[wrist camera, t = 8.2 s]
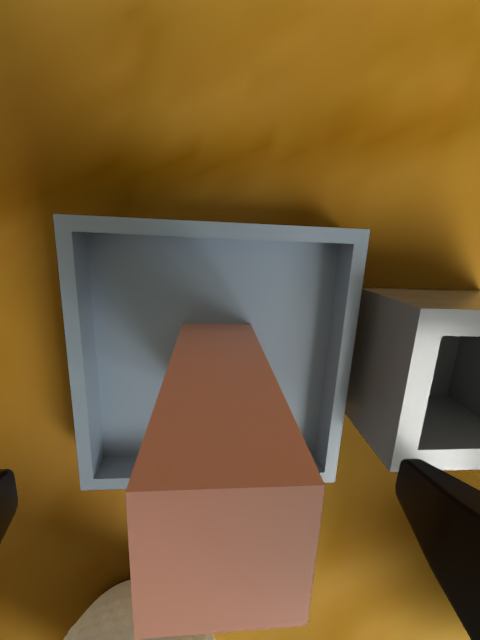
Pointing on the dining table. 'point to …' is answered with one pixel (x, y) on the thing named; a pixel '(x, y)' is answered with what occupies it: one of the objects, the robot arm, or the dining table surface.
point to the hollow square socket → (418, 376)
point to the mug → (115, 619)
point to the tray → (202, 321)
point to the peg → (221, 495)
